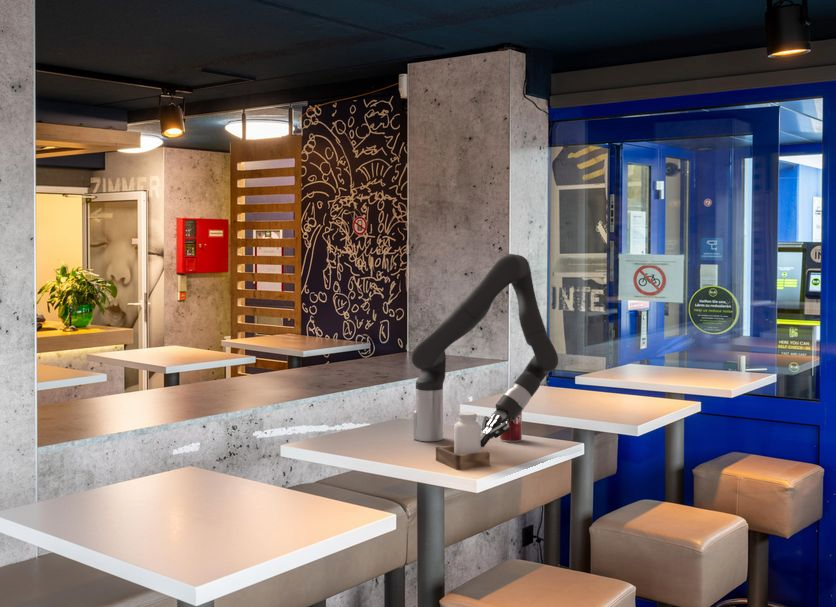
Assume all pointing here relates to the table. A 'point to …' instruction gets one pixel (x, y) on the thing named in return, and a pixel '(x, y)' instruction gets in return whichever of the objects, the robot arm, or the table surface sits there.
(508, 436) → the soda can
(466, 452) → the pill bottle
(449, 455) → the holder
